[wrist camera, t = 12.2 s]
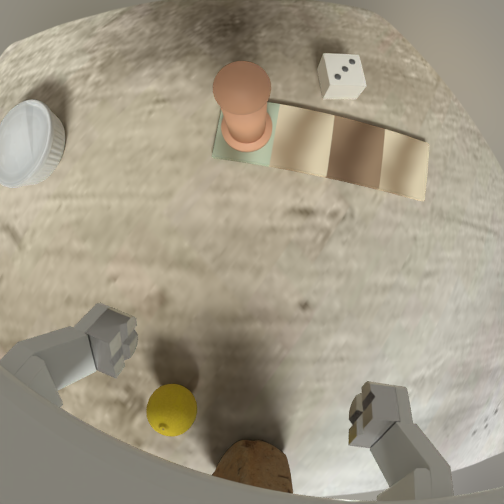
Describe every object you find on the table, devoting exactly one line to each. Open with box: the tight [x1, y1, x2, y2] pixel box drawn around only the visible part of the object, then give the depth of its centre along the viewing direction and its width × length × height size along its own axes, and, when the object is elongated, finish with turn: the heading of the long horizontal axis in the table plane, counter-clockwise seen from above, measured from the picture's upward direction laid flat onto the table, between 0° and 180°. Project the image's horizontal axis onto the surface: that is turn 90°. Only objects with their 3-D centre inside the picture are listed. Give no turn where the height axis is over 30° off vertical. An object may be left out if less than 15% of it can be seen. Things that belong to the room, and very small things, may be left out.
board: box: [212, 102, 429, 201], centre depth 31 cm, size 24×7×1 cm, turn 80°
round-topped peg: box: [213, 61, 272, 152], centre depth 24 cm, size 5×5×13 cm
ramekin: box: [0, 99, 65, 188], centre depth 29 cm, size 11×11×5 cm
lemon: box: [147, 384, 197, 436], centre depth 30 cm, size 6×6×8 cm
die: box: [317, 53, 366, 99], centre depth 29 cm, size 4×4×4 cm
